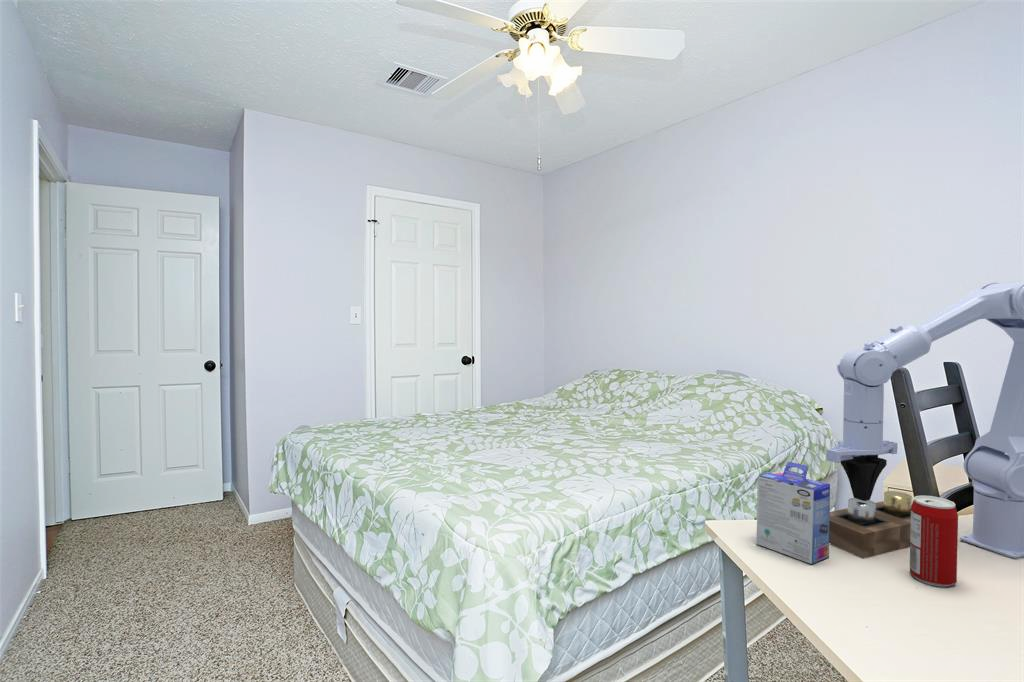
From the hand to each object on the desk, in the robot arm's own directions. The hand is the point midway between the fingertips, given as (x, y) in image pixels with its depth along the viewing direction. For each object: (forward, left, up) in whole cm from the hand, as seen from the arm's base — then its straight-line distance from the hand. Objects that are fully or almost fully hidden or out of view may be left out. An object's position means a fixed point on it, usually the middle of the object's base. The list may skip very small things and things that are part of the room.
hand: (861, 498), depth 93 cm
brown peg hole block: (-5, 0, -8) cm, 9 cm away
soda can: (+2, +13, -8) cm, 15 cm away
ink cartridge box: (+13, -2, -8) cm, 16 cm away
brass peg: (-9, 0, -4) cm, 10 cm away
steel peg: (0, 0, -4) cm, 4 cm away
